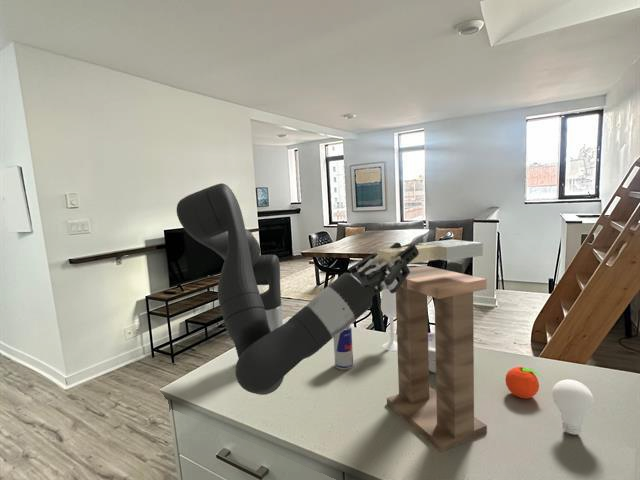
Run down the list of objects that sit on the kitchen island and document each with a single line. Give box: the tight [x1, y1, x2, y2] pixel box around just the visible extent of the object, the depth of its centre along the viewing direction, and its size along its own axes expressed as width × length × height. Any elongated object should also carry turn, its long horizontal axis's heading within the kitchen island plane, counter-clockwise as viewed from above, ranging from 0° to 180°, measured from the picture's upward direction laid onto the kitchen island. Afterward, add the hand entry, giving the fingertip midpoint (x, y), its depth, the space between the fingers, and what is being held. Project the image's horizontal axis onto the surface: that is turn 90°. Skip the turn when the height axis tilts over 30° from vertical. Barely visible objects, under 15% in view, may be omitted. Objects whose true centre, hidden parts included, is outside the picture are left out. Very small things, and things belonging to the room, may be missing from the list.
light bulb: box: [551, 378, 595, 436], centre depth 69 cm, size 7×7×11 cm
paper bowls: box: [428, 331, 436, 374], centre depth 98 cm, size 15×15×8 cm
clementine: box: [505, 366, 543, 399], centre depth 83 cm, size 8×7×7 cm
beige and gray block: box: [376, 239, 484, 267], centre depth 67 cm, size 8×20×2 cm, turn 114°
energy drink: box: [333, 325, 354, 371], centre depth 102 cm, size 5×5×12 cm
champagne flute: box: [380, 289, 398, 352], centre depth 113 cm, size 7×7×24 cm
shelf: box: [385, 265, 488, 452], centre depth 75 cm, size 18×12×32 cm, turn 24°
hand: (407, 247), depth 65 cm, fingers closed on beige and gray block, 4 cm apart
